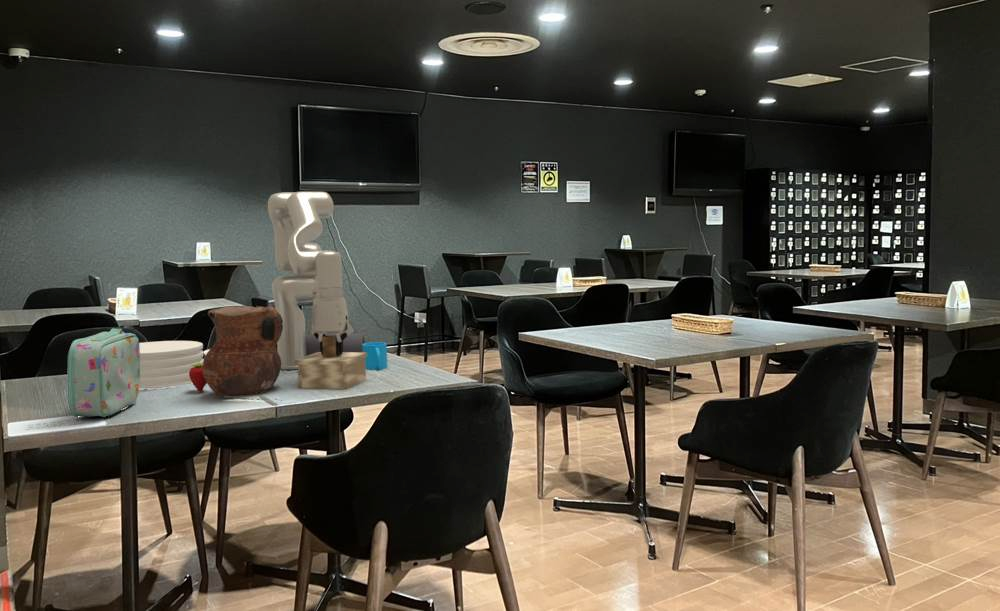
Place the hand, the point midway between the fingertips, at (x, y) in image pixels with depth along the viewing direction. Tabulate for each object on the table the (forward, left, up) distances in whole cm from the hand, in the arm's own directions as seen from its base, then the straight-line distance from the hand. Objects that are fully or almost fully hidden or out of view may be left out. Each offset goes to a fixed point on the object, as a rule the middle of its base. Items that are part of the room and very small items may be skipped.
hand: (331, 354), depth 248 cm
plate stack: (-60, +2, -10) cm, 61 cm away
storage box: (0, 0, -10) cm, 10 cm away
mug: (+1, +33, -10) cm, 35 cm away
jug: (-22, -13, -10) cm, 27 cm away
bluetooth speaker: (-20, +47, -10) cm, 52 cm away
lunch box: (-47, -39, -10) cm, 62 cm away
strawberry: (-37, -11, -10) cm, 40 cm away
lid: (0, 0, -2) cm, 2 cm away
